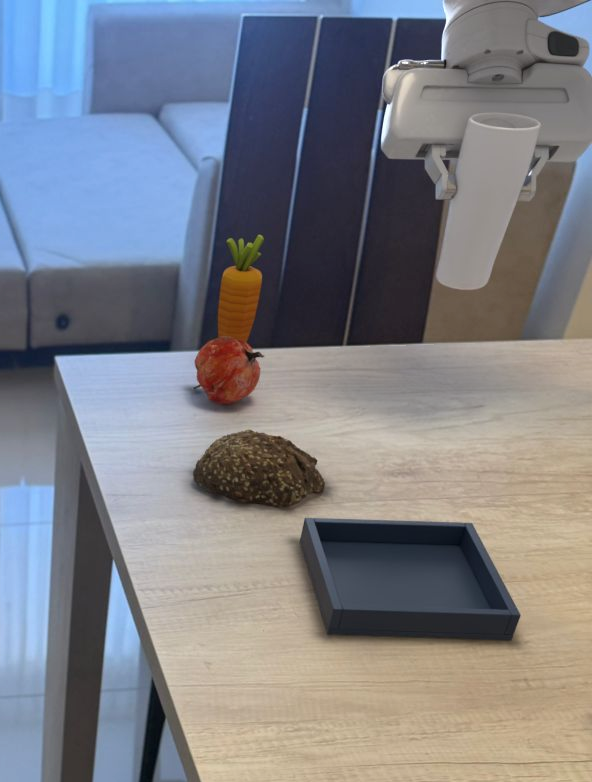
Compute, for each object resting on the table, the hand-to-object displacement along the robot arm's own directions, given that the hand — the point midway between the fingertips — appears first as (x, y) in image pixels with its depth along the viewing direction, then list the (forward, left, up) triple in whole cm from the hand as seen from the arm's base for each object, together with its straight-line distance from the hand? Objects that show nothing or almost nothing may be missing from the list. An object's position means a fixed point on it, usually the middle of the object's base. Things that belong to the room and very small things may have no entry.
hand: (485, 197), depth 114 cm
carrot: (+21, -14, -23) cm, 34 cm away
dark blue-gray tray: (+11, +36, -23) cm, 44 cm away
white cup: (0, -1, -9) cm, 9 cm away
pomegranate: (+23, -4, -23) cm, 33 cm away
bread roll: (+20, +16, -23) cm, 35 cm away
